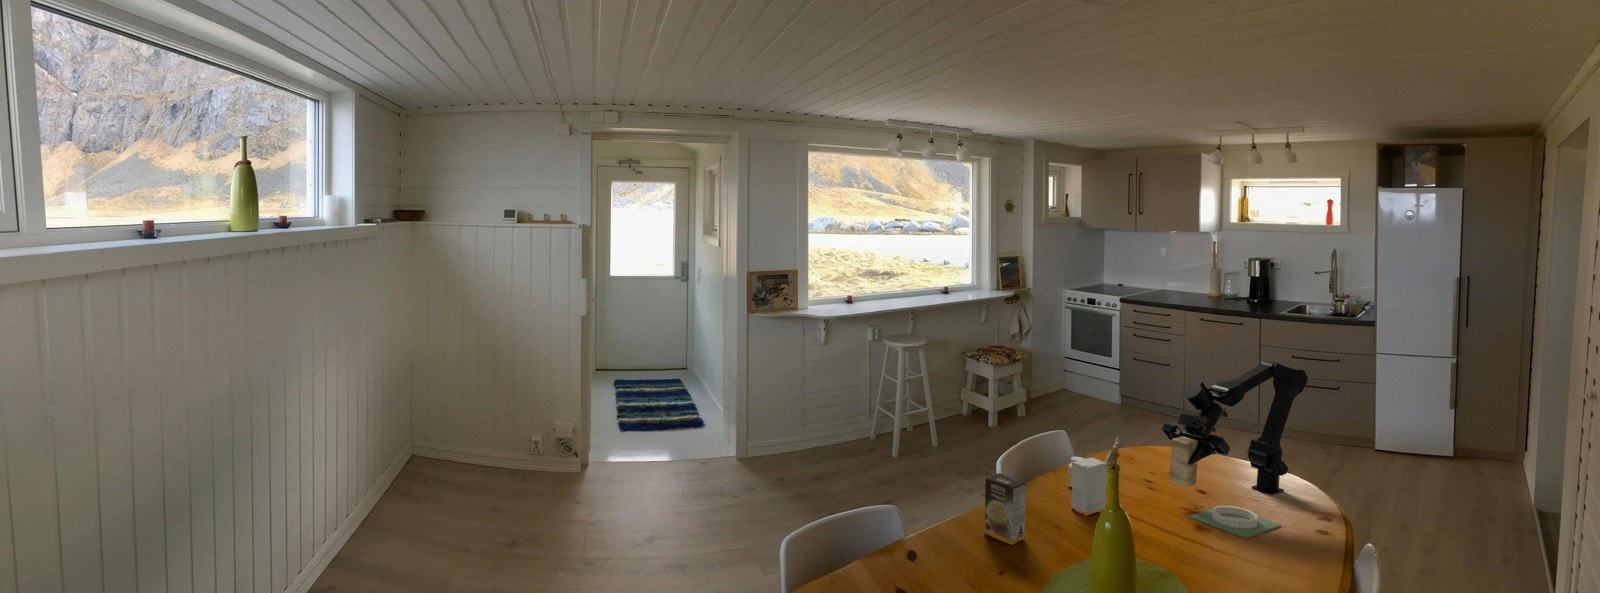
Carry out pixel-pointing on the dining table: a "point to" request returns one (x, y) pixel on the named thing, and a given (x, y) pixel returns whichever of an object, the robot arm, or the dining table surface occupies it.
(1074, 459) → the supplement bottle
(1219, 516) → the putting green
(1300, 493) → the dining table surface
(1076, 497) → the skincare box
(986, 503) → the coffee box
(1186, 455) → the oak block
